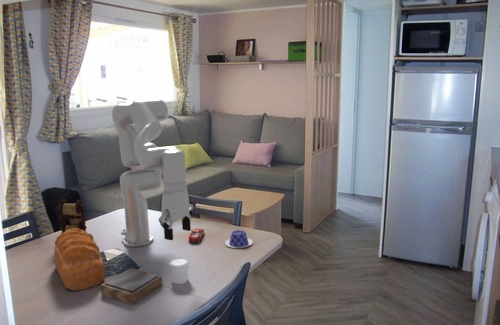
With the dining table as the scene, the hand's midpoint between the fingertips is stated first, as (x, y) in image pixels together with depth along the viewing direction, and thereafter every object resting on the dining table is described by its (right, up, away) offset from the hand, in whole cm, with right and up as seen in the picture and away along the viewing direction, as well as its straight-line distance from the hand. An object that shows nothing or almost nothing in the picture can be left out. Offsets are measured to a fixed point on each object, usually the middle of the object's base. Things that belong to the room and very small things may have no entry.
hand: (178, 234), depth 147 cm
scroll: (-50, -11, +36) cm, 63 cm away
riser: (-15, -18, -3) cm, 24 cm away
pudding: (+20, -10, +36) cm, 42 cm away
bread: (-38, -16, +10) cm, 42 cm away
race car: (+1, -9, +42) cm, 43 cm away
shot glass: (0, -17, +4) cm, 17 cm away
